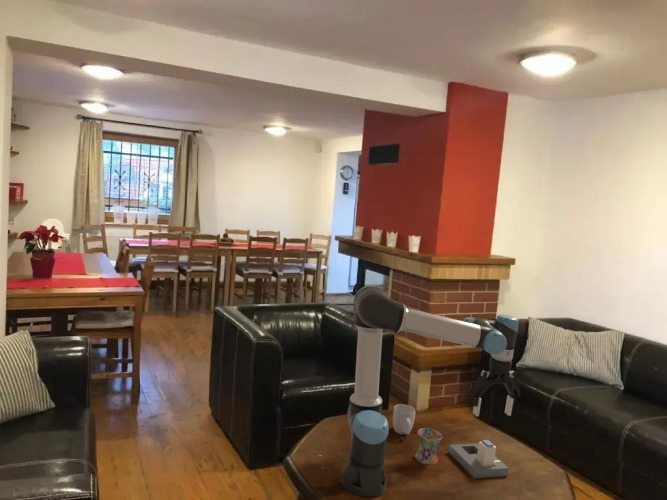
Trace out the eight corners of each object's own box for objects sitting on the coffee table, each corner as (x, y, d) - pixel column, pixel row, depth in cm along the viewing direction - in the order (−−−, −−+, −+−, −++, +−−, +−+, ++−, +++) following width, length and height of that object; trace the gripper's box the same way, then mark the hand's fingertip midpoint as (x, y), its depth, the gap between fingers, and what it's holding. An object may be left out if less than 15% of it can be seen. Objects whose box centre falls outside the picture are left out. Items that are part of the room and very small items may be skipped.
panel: (473, 480, 184) (475, 469, 183) (448, 454, 201) (449, 444, 200) (507, 478, 188) (508, 467, 187) (479, 452, 205) (480, 442, 204)
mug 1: (388, 425, 220) (391, 403, 219) (409, 426, 221) (412, 404, 220) (396, 440, 207) (399, 416, 206) (418, 441, 209) (421, 417, 208)
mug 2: (441, 468, 190) (445, 441, 189) (416, 466, 189) (420, 439, 188) (433, 451, 202) (437, 426, 200) (410, 449, 201) (413, 423, 200)
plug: (481, 473, 187) (486, 445, 186) (475, 467, 191) (479, 439, 190) (492, 473, 189) (496, 445, 187) (485, 466, 193) (489, 439, 191)
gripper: (477, 361, 178) (467, 419, 180) (537, 362, 185) (527, 418, 188) (465, 353, 185) (456, 410, 187) (523, 355, 192) (514, 409, 195)
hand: (491, 414), depth 187 cm, fingers open, 13 cm apart
